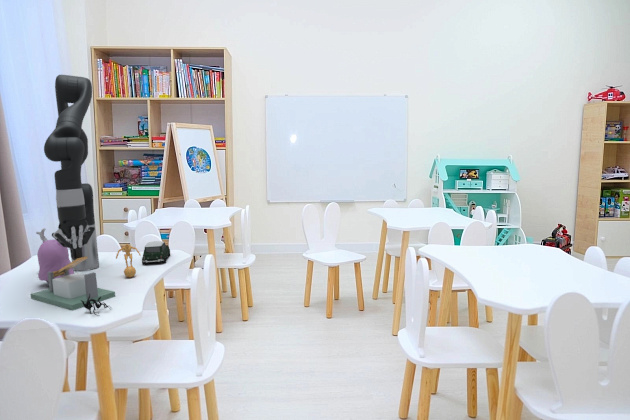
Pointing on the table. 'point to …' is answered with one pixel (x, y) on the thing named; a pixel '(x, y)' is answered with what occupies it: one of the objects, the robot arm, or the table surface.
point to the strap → (69, 266)
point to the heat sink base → (77, 300)
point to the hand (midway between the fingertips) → (76, 259)
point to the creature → (89, 305)
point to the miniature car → (155, 252)
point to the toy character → (51, 257)
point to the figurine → (130, 270)
